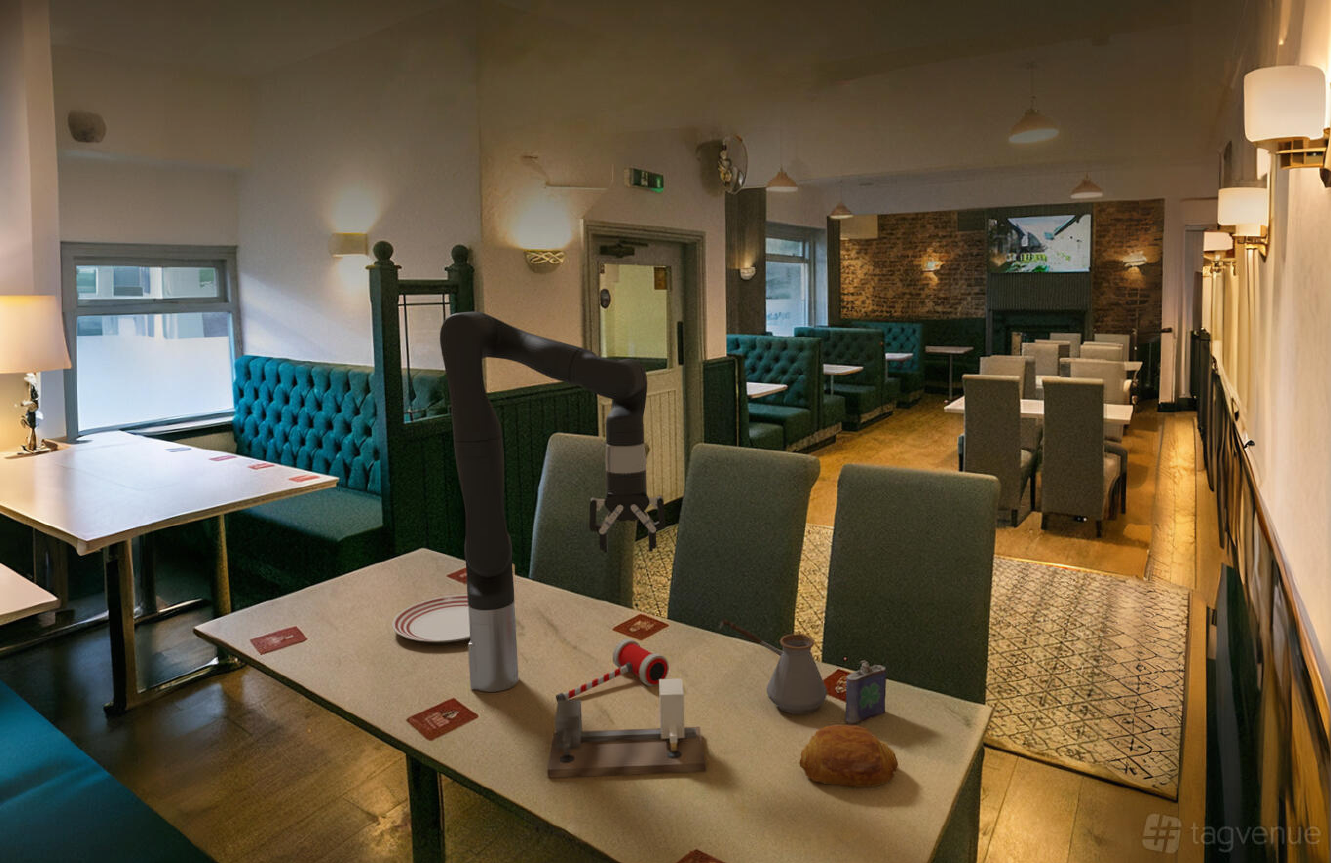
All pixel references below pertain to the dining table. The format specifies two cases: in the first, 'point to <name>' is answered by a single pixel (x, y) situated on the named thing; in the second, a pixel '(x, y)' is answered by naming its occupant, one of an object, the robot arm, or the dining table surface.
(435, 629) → the dinner plate
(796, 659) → the coffee pot
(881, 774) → the croissant
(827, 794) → the dining table surface
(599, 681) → the toy hammer
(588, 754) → the base
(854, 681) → the flask
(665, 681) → the gauge slider
